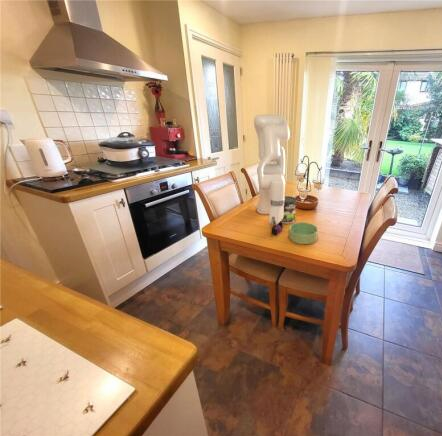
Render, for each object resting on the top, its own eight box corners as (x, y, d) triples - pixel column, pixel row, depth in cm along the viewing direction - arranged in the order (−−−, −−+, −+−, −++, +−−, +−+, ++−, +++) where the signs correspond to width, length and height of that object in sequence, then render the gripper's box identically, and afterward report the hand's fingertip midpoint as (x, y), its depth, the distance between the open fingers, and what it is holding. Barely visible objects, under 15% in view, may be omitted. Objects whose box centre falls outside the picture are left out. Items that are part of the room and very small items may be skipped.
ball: (271, 234, 130) (271, 226, 127) (274, 230, 134) (274, 222, 132) (279, 235, 128) (279, 227, 126) (282, 231, 132) (282, 224, 130)
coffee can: (298, 221, 145) (299, 200, 139) (283, 224, 140) (283, 203, 134) (290, 215, 153) (291, 195, 147) (276, 218, 149) (276, 197, 143)
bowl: (284, 241, 123) (284, 232, 121) (294, 228, 136) (294, 220, 134) (312, 247, 119) (313, 238, 116) (320, 234, 132) (320, 225, 129)
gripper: (277, 195, 132) (276, 224, 139) (263, 206, 117) (264, 237, 124) (289, 197, 129) (288, 226, 137) (277, 208, 115) (276, 240, 122)
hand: (276, 231), depth 131 cm, fingers open, 6 cm apart
